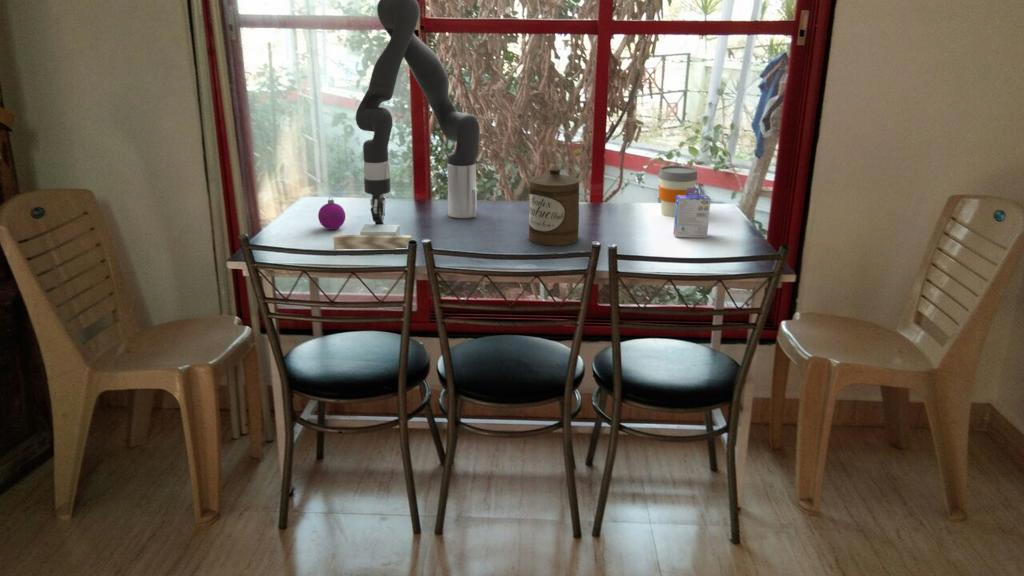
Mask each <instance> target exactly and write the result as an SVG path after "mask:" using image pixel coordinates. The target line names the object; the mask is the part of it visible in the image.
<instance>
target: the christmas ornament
mask: <svg viewBox="0 0 1024 576" xmlns="http://www.w3.org/2000/svg"><path fill="white" fill-rule="evenodd" d="M317 218H318V221H319V224H320V225H321V226H322V227H323V228H325V229H328V230H336V229H339V228H340V227H342V226H343V224H345V221H346V213H345V210H344V208H343V207H342V206H341V205H340V204H338V203H335V200H334V199H333V197H329V199H328V200H327V203H326V204H323V205H322V206H321V207H320V209H319V210H318V214H317Z"/></svg>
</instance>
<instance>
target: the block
mask: <svg viewBox="0 0 1024 576" xmlns="http://www.w3.org/2000/svg"><path fill="white" fill-rule="evenodd" d="M359 235H401V234H400V224H383V225H382V224H375V223H374V224H373V223H371V224H368V223H366V224H364V225H363V227H362V228H361V230H360V232H359Z"/></svg>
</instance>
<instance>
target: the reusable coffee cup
mask: <svg viewBox="0 0 1024 576" xmlns="http://www.w3.org/2000/svg"><path fill="white" fill-rule="evenodd" d="M658 172H659V173H658V179H659V184H658V198H659V200H660V211H661V212H660V213H661V215H663V216H666V217H671V218H675V204H676V195H687V188H697V187H696V181H697V180H698V170H697V169H696V168H694V167H692V166H685V165H667V166H666V165H665V166H662V167H660V168H659V171H658ZM689 193H696V191H695V190H691V191H689Z"/></svg>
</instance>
